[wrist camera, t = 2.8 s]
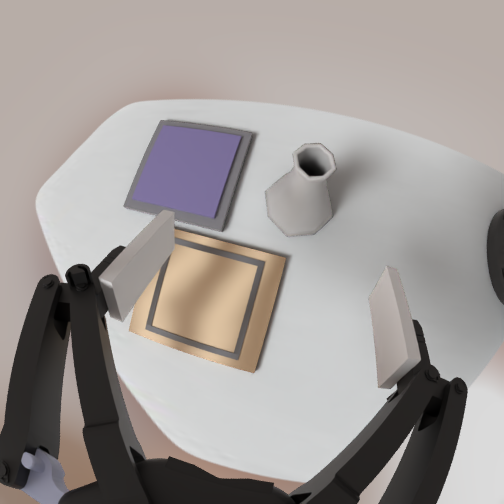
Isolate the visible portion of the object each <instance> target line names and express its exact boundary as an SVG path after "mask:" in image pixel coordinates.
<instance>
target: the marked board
mask: <svg viewBox="0 0 504 504" xmlns="http://www.w3.org/2000/svg"><path fill="white" fill-rule="evenodd" d="M174 240H175V249H174V250H173V252H172V253H171V254H170V256H169V257H168V258H167V260H166V261H165V262H164V264H163V265H162V267H161V268H160V269H159V271H158V272H157V273H156V275H155V276H154V278H153V279H152V280H151V282H150V283H149V285H148V286H147V287H146V289H145V290H144V292H143V293H142V294H141V296H140V297H139V299H138V300H137V302H136V303H135V306H134V310H133V314H132V319H131V323H130V328H129V331H131V332H133V333H135V334H138V335H140V336H143V337H145V338H148V339H150V340H153V341H155V342H158V343H161V344H163V345H166V346H169V347H171V348H174V349H177V350H180V351H182V352H185V353H188V354H191V355H194V356H197V357H200V358H203V359H206V360H210V361H213V362H216V363H219V364H223V365H226V366H230V367H233V368H237V369H240V370H244V371H248V372H251V373H254V372H255V369H256V365H257V362H258V359H259V355H260V352H261V348H262V345H263V341H264V338H265V334H266V331H267V327H268V324H269V320H270V317H271V313H272V309H273V306H274V302H275V298H276V295H277V291H278V287H279V283H280V280H281V276H282V272H283V268H284V264H285V260H286V258H284V257H281V256H277V255H273V254H269V253H265V252H262V251H258V250H254V249H250V248H246V247H242V246H239V245H235V244H231V243H227V242H223V241H219V240H216V239H212V238H208V237H204V236H200V235H196V234H193V233H189V232H185V231H181V230H177V229H174Z"/></svg>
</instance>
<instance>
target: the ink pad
mask: <svg viewBox="0 0 504 504" xmlns="http://www.w3.org/2000/svg"><path fill="white" fill-rule="evenodd" d="M251 139H252V133H250V132H245V131H240V130H234V129H228V128H222V127H215V126H208V125H201V124H193V123H185V122H175V121H165V120H161V121H160V122H159V124H158V126H157V129H156V131H155V133H154V135H153V137H152V139H151V141H150V143H149V145H148V147H147V150H146V152H145V154H144V156H143V159H142V161H141V163H140V166H139V168H138V170H137V173H136V175H135V178H134V180H133V183H132V185H131V188H130V190H129V193H128V195H127V198H126V201H125V204H124V207H125V208H127V209H131V210H135V211H139V212H143V213H147V214H151V215H155V216H157V215H158V214H159V213H160V212H162V211H163V210H167V211H172V212H174V220H176V221H180V222H184V223H188V224H192V225H196V226H199V227H203V228H207V229H211V230H215V231H219V232H222V231H223V228H224V224H225V221H226V218H227V214H228V211H229V208H230V205H231V201H232V198H233V195H234V192H235V189H236V185H237V182H238V179H239V176H240V173H241V170H242V167H243V164H244V161H245V157H246V154H247V151H248V148H249V145H250V142H251Z"/></svg>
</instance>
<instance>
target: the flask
mask: <svg viewBox="0 0 504 504" xmlns="http://www.w3.org/2000/svg"><path fill="white" fill-rule="evenodd" d="M293 160H294V167H293V169H292V170H291V171H290V172H289V173H287V174H285V175H284V176H283V177H281V178H280V179H279V180H278V181H277V182H275V183H274V184H273V185H272V186H271V187H270V188H268V189H267V190H266V191H265V195H266V204H267V213H268V217H269V218H270V219H271V221H272V222H273V223H274V224H275V225H276V226H277V227H278V228H279V229H280V230H281V231H282V232H283V233H284V234H285V235H286V236H287V237H291V236H302V235H313V234H315V233H316V232H317V231H318V230H320V229H321V228H322V227H323V226H324V225H325V224H326V223H327V222H328V221H329V220H330V219H331V218H332V217H333V214H332V208H331V203H330V197H329V192H328V188H327V178H328V177H329V176H330V175H332V174H333V173H334V172H335V171H336V164H335V160H334V156H333V154H332V153H331V152H330V151H329V150H328V149H327V148H326V147H325V146H323V145H322V144H321V143H311V144H304V145H302V146H301V147H300V148H299V149H297V150H296V151H295V152H294V153H293Z"/></svg>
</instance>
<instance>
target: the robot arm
mask: <svg viewBox="0 0 504 504" xmlns="http://www.w3.org/2000/svg"><path fill="white" fill-rule="evenodd" d="M174 249H175V240H174V212H172V211H167V210H163V211H162V212H160V213H159V214H158V215H157V216H156V217H155V218H154V219H153V220H152V221H151V222H150V223H149V224H148V225H147V226H146V227H145V228H144V229H143V230H142V231H141V232H140V233H139V234H138V235H137V236H136V237H135V238H134V240H133V241H132V242H131V243H130V244H129V245H128V246H127V247H124V246H119V247H117V248H115V249H113V250H112V251H111V252H110V253H109V254H108V255H107V257H105V258H104V259H103V261H101V263H100V264H99V265H98V266H97V267H96V268H95V269H94V270H93V271H92V272H91V271H90V268H89V267H88V266H87V265H85V264H77V265H74V266H72V267H70V268H69V269H68V270H67V272H66V274H65V277H66V280H67V282H68V283H60V281H59V279H58V277H57V276H56V275H53V274H50V275H47V276H44V277H43V278H42V279H41V280H40V281H39V283H38V285H37V287H36V290H35V293H34V295H33V298H32V301H31V304H30V307H29V309H28V312H27V315H26V319H25V322H24V325H23V328H22V332H21V335H20V339H19V342H18V346H17V350H16V354H15V358H14V363H13V367H12V372H11V378H10V383H9V389H8V395H7V403H6V411H5V422H4V426H3V429H2V431H1V434H0V483H2V484H4V485H6V486H9V487H12V488H15V489H19V490H22V491H24V492H25V493H26V494H28V495H29V496H31V497H32V498H33V499H35V500H36V501H38V502H39V503H41V504H357V503H358V502H359V500H360V498H359V496H360V494H361V493H362V491H363V490H364V489H365V488H366V487H367V486H368V485H369V484H370V483H371V482H372V481H373V479H374V478H375V477H376V476H377V475H378V474H379V472H380V471H381V470H382V469H383V468H384V466H385V465H386V464H387V463H388V461H389V460H390V459H391V457H392V456H393V455H394V454H395V452H396V451H397V450H398V448H399V447H400V446H401V444H402V443H403V441H404V440H405V439H406V437H407V436H408V434H409V433H410V431H411V430H412V428H413V427H414V429H413V432H412V434H411V437H410V440H409V442H408V444H407V447H406V449H405V452H404V454H403V456H402V459H401V461H400V463H399V465H398V467H397V470H396V471H395V473H394V475H393V478H392V479H391V482H390V483H389V485H388V487H387V489H386V491H385V493H384V495H383V496H382V498H381V500H380V502H379V503H378V504H436V503H437V501H438V499H439V496H440V494H441V491H442V489H443V486H444V484H445V481H446V478H447V475H448V472H449V470H450V466H451V463H452V460H453V457H454V453H455V450H456V446H457V443H458V439H459V435H460V430H461V426H462V421H463V416H464V411H465V405H466V399H467V393H468V392H467V386H466V384H465V382H464V381H463V380H462V379H461V378H458V377H457V378H454V379H453V380H452V381H450V382H449V381H447V380H445V379H443V378H440V374H439V372H438V370H437V369H436V368H435V367H434V366H433V365H431V364H430V359H429V355H428V350H427V346H426V343H425V338H424V334H423V330H422V327H421V326H420V324H419V322H418V321H417V320H413V319H412V318H411V314H410V310H409V306H408V303H407V299H406V296H405V292H404V289H403V286H402V283H401V279H400V276H399V273H398V270H397V269H396V268H393V267H389V266H386V268H385V270H384V272H383V273H382V275H381V277H380V279H379V281H378V283H377V284H376V286H375V288H374V290H373V291H372V293H371V295H370V297H369V304H370V311H371V318H372V326H373V334H374V343H375V353H376V365H377V378H378V388H386V389H391V388H392V387H393V386H394V385H395V384H396V383H397V390H396V391H395V392H394V393H393V394H392V395H390V396H389V397H388V398H387V400H388V401H387V402H386V403H385V405H384V406H383V407H382V408H381V409H380V411H379V412H378V413H377V414H376V415H375V417H374V418H373V419H372V420H371V421H370V422H369V423H368V425H367V426H366V427H365V428H364V429H363V430H362V431H361V432H360V433H359V435H358V436H357V437H356V438H355V439H354V440H353V441H352V442H351V443H350V444H349V445H348V446H347V447H346V448H345V449H344V450H343V451H342V452H341V453H340V454H339V455H338V456H337V457H336V458H335V459H334V460H332V461H331V462H330V463H329V464H328V465H327V466H326V467H325V468H324V469H323V470H321V471H320V472H319V473H318V474H317V475H316V476H314V477H313V478H312V479H311V480H310V481H308V482H307V483H305V484H303V485H302V486H300V487H298V488H297V489H296V490H294V491H293V492H291V493H290V494H289V495H288V494H287V493H285V492H284V491H282V490H280V489H279V488H277V487H274V483H271V482H264V481H259V480H253V479H222V478H217V477H215V476H214V475H212V474H210V473H208V472H206V471H204V470H202V469H201V468H199V467H197V466H195V465H193V464H190V463H187V462H184V461H181V460H178V459H175V458H172V457H170V456H169V458H168V459H162V458H157V459H149V460H147V459H146V457H145V455H144V452H143V450H142V447H141V445H140V443H139V442H138V440H137V438H136V435H135V433H134V430H133V427H132V424H131V421H130V418H129V415H128V412H127V409H126V405H125V402H124V399H123V396H122V392H121V388H120V384H119V381H118V376H117V372H116V368H115V364H114V360H113V355H112V350H111V346H110V340H109V335H108V330H107V324H106V318H105V314H106V312H107V311H109V314H110V317H111V318H114V319H116V320H118V321H121V322H123V321H124V319H125V318H126V316H127V315H128V313H129V312H130V310H131V309H132V308H133V306H134V305H135V303H136V302H137V300H138V299H139V297H140V296H141V294H142V293H143V292H144V290H145V289H146V287H147V286H148V285H149V283H150V282H151V280H152V279H153V278H154V276H155V275H156V273H157V272H158V271H159V269H160V268H161V267H162V265H163V264H164V262H165V261H166V260H167V258H168V257H169V256H170V254H171V253H172V252H173V250H174ZM487 258H488V267H489V273H490V277H491V281H492V285H493V287H494V290H495V292H496V294H497V296H498V298H499V300H500V301H501V302H502V303H503V304H504V209H503V210H501V211H499V212H498V213H496V215H495V216H494V217H493V219H492V221H491V224H490V227H489V232H488V240H487ZM70 331H71V338H72V349H73V359H74V367H75V374H76V381H77V387H78V393H79V398H80V404H81V408H82V413H83V417H84V423H85V426H84V428H83V437H84V441H85V445H86V448H87V451H88V455H89V459H90V462H91V465H92V468H93V471H94V474H95V476H96V479H97V481H95V482H93V483H90V484H88V485H85V486H82V487H79V488H77V489H74V490H71V491H69V490H68V489H67V487H66V485H65V483H64V480H63V478H64V476H65V473H64V470H63V469H62V466H61V464H60V463H59V461H58V454H59V445H60V412H61V396H62V385H63V376H64V368H65V360H66V354H67V347H68V341H69V336H70ZM414 425H415V426H414Z"/></svg>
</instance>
